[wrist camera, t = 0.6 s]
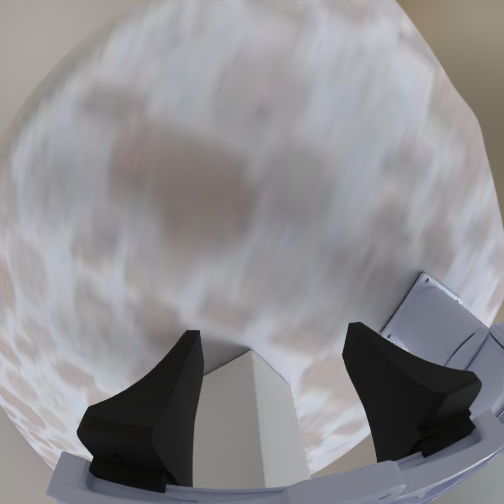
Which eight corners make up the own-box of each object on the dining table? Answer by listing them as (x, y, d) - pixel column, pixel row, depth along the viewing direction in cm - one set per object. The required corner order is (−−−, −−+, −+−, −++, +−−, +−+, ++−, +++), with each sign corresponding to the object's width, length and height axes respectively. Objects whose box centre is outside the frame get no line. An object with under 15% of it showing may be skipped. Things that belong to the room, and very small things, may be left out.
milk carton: (238, 410, 28) (245, 559, 10) (196, 378, 26) (178, 552, 8) (290, 384, 27) (326, 547, 9) (251, 347, 25) (272, 551, 7)
